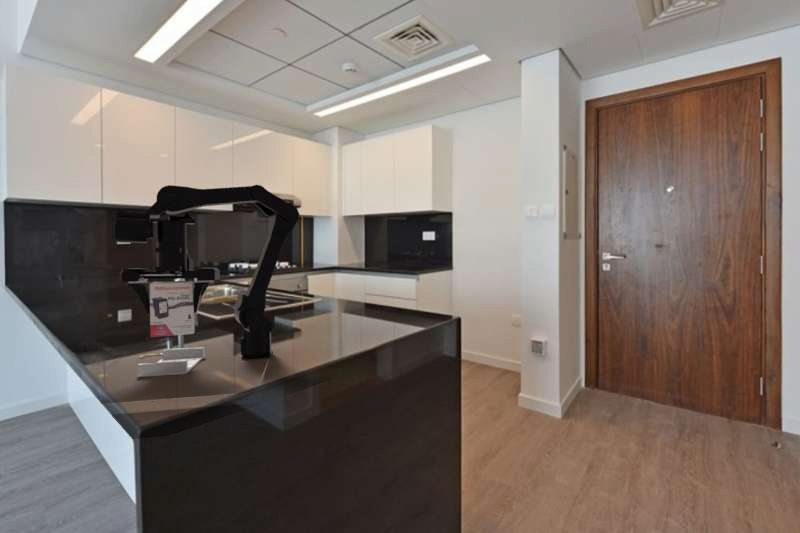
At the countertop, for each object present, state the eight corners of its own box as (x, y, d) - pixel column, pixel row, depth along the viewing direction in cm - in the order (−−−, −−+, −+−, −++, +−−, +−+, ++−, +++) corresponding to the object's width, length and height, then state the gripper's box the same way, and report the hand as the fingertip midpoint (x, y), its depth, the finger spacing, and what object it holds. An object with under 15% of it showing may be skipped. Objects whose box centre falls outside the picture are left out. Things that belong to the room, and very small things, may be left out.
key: (166, 354, 99) (166, 352, 99) (166, 356, 97) (166, 353, 97) (139, 357, 96) (139, 355, 96) (139, 359, 94) (139, 357, 94)
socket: (204, 357, 96) (204, 347, 96) (186, 373, 82) (185, 362, 82) (163, 359, 94) (163, 349, 94) (137, 377, 80) (137, 364, 80)
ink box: (149, 337, 84) (148, 282, 83) (152, 334, 88) (151, 281, 88) (194, 333, 87) (193, 281, 87) (195, 330, 92) (194, 280, 92)
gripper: (224, 245, 97) (225, 307, 98) (140, 244, 93) (141, 310, 93) (213, 243, 87) (214, 313, 87) (118, 242, 82) (119, 316, 83)
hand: (172, 313), depth 88 cm, fingers closed on ink box, 9 cm apart
